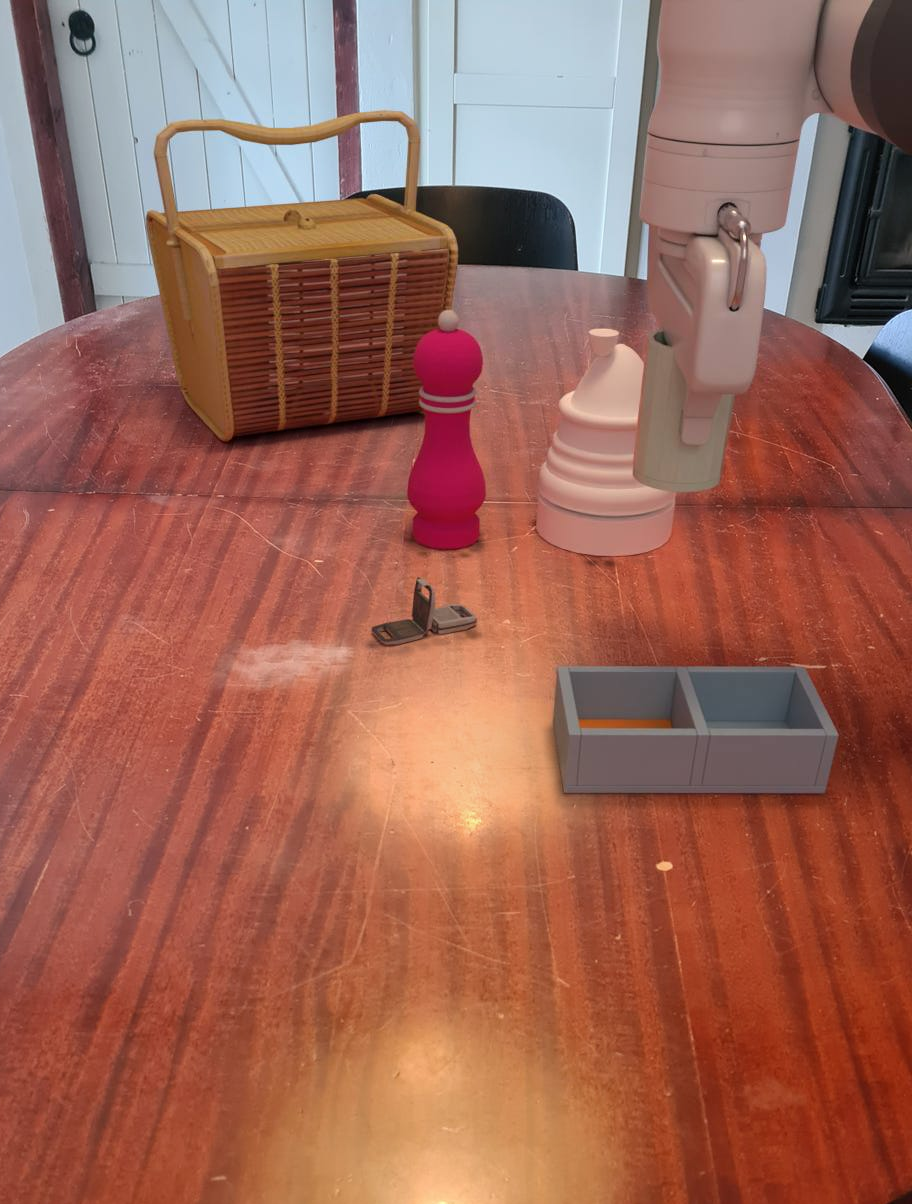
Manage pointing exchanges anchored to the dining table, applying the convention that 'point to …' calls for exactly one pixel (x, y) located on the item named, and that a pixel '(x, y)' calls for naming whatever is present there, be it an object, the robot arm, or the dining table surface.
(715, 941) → the dining table surface
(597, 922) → the dining table surface
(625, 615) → the dining table surface
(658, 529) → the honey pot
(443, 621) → the strap clip
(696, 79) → the robot arm
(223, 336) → the picnic basket
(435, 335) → the pepper mill
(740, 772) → the holder
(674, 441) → the cup
